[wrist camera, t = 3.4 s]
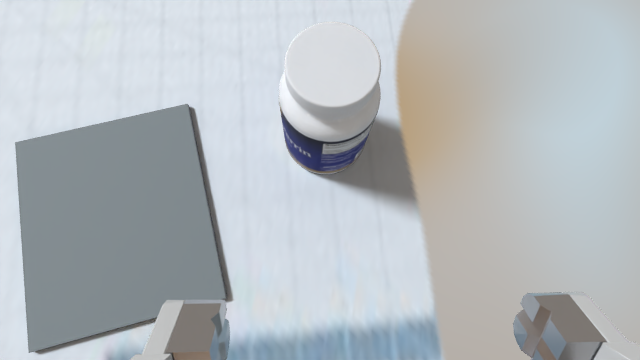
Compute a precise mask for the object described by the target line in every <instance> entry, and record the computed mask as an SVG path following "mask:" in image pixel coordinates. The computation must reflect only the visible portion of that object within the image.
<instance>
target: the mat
mask: <svg viewBox="0 0 640 360" xmlns="http://www.w3.org/2000/svg"><path fill="white" fill-rule="evenodd" d="M15 146H16V162H17V177H18V193H19V208H20V224H21V239H22V255H23V271H24V286H25V302H26V317H27V333H28V349H29V353H30V352H34V351H38V350H42V349H45V348H49V347H52V346H56V345H60V344H63V343H67V342H70V341H74V340H77V339H81V338H85V337H88V336H92V335H95V334H99V333H103V332H106V331H110V330H113V329H117V328H121V327H124V326H128V325H131V324H135V323H139V322H142V321H146V320H149V319H153V318H157V317H158V315H159V312H160V310H161V308H162V305H163V304H164V303H165V302H166V300H221V299H225V298H227V295H226V290H225V285H224V280H223V275H222V270H221V265H220V260H219V255H218V250H217V245H216V240H215V234H214V229H213V224H212V219H211V214H210V209H209V204H208V199H207V194H206V189H205V184H204V179H203V174H202V169H201V164H200V159H199V154H198V149H197V144H196V139H195V134H194V128H193V123H192V118H191V113H190V108H189V105H188V104H185V105H180V106H176V107H171V108H167V109H162V110H158V111H153V112H149V113H145V114H140V115H136V116H131V117H127V118H122V119H118V120H113V121H109V122H104V123H100V124H95V125H91V126H87V127H82V128H78V129H73V130H69V131H64V132H60V133H55V134H51V135H46V136H42V137H38V138H33V139H29V140H24V141H20V142H15Z"/></svg>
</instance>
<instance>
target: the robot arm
mask: <svg viewBox="0 0 640 360" xmlns="http://www.w3.org/2000/svg"><path fill="white" fill-rule="evenodd" d="M521 305H522V307H523V310H522V311H521V312H519V313H518V314H517V315H516V317H515V320H514V323H513V327H514V335H515V338H516V341H517V343H518V345H519V347H520V349H521V351H523V352H524V353H525V354H527V355H528V356H530V357H531V360H640V345H639V344H638V343H636V342H629V341H628V340H627V339H626V338H625V337H624V336H623V334H622V333H621V332H620V331H619V330H618V329H617V328H616V326H615V325H614V324H613V323H612V322H611V321H610V320H609V318H608V317H607V316H606V315H605V314H604V313H603V312H602V311H601V309H600V308H599V307H598V306H597V305H596V304H595V302H594V301H593V300H592V299H591V298H590V297H589V296H588V295H587V294H585V293H583V292H564V293H561V292H555V293H527V294H526V295H525V296H523V298H522V301H521ZM226 311H227V308H226V302H225V300H166V302H165V303H164V304H163V305H162V308H161V310H160V312H159V315H158V317H157V319H156V322H155V324H154V327H153V329H152V331H151V334H150V336H149V338H148V341H147V343H146V346H145V348H144V350H143V353H142V354H136V355H135V356H133V357H132V358H131V359H130V360H226V359H227V355H228V350H229V340H230V327H229V321H228V320H227V319H225V316H226Z"/></svg>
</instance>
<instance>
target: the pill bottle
mask: <svg viewBox="0 0 640 360" xmlns="http://www.w3.org/2000/svg"><path fill="white" fill-rule="evenodd" d="M380 72H381V61H380V56H379V53H378V50H377V48H376V46H375V44H374V43H373V42H372V40H371V39H370V38H369V37H368V36H367V35H366V34H365V33H364V32H362V31H361V30H359V29H357V28H356V27H354V26H352V25H349V24H345V23H340V22H323V23H318V24H315V25H312V26H310V27H308V28H306V29H304V30H303V31H301V32H300V33H299V34H298V35H297V36H296V37H295V38H294V39H293V41H292V42H291V44H290V45H289V47H288V50H287V52H286V56H285V71H284V73H283V75H282V77H281V80H280V85H279V104H280V111H281V117H282V123H283V130H284V136H285V142H286V146H287V149H288V152H289V153H290V155H291V157H292V158H293V159H294V161H295V162H296V163H297V164H298V165H300V166H301V167H302V168H304V169H306V170H308V171H310V172H313V173H317V174H333V173H337V172H340V171H342V170H344V169H346V168H348V167H349V166H350V165H352V164H353V163H354V162H355V161H356V159H357V158H358V157H359V155H360V153H361V152H362V149H363V147H364V145H365V142H366V140H367V137H368V135H369V132H370V130H371V127H372V124H373V122H374V119H375V117H376V115H377V112H378V109H379V104H380V94H381V93H380V86H379V81H378V80H379V77H380Z"/></svg>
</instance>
